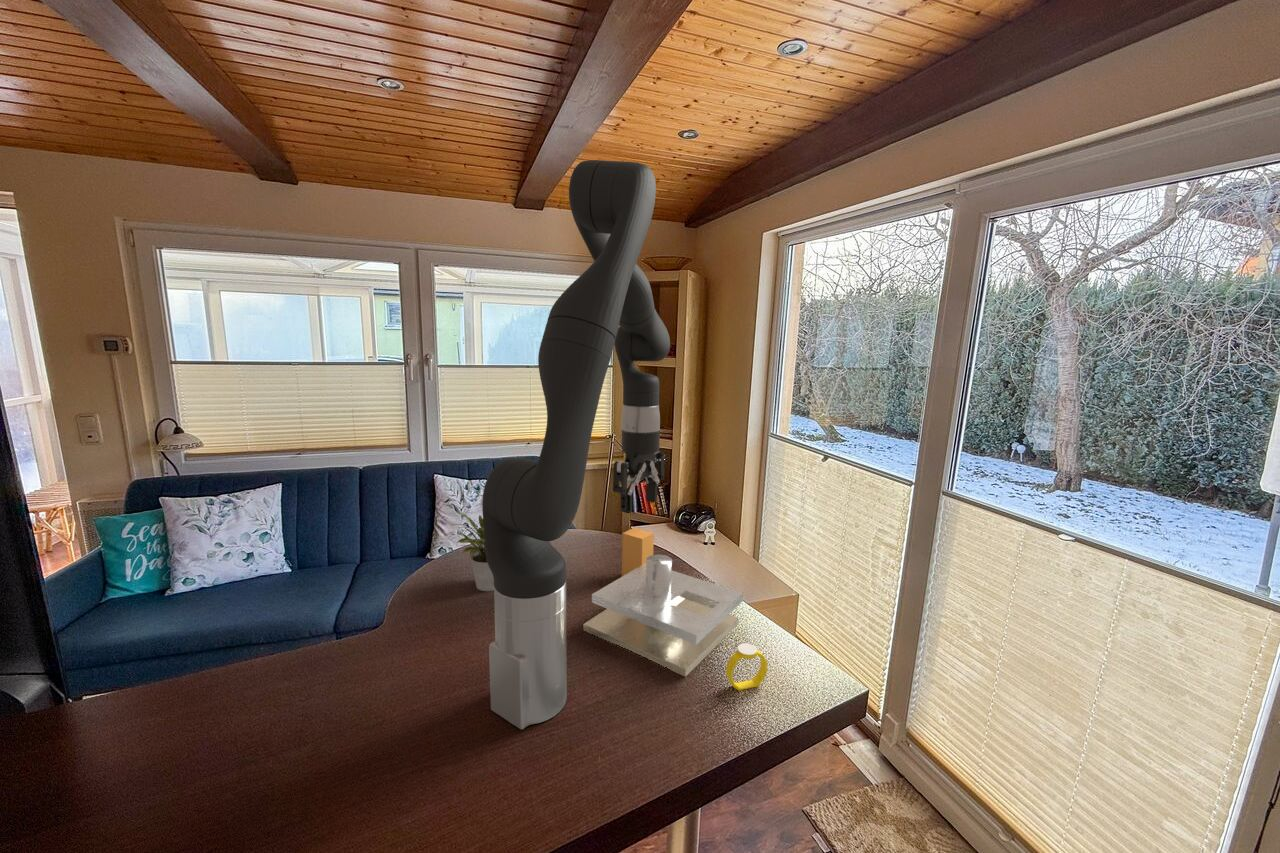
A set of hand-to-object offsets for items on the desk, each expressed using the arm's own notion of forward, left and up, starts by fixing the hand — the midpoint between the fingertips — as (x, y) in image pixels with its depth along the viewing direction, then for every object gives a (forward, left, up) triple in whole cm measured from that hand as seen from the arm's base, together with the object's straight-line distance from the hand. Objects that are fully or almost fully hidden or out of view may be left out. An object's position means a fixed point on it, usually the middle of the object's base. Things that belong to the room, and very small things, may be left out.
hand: (639, 506), depth 103 cm
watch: (-18, -32, -16) cm, 40 cm away
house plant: (-20, +23, -16) cm, 34 cm away
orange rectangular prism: (0, 0, -16) cm, 16 cm away
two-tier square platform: (-12, -14, -16) cm, 24 cm away
